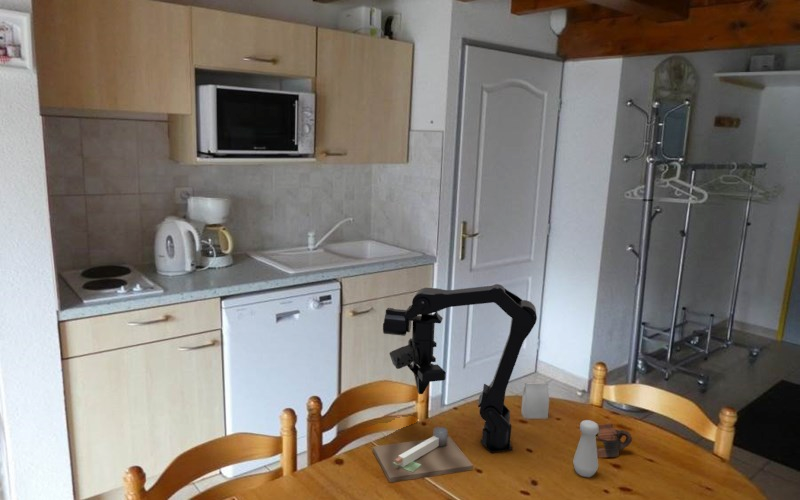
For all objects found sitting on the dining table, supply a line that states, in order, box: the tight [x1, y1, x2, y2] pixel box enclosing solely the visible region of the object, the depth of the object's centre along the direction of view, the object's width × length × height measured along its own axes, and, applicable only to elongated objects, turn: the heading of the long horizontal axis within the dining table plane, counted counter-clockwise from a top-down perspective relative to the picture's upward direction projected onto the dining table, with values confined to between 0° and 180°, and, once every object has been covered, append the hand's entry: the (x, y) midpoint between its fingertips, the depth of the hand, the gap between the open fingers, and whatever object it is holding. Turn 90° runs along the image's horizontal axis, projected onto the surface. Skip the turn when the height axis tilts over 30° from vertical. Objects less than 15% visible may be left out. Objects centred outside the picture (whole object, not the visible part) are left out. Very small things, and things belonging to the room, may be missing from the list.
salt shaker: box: [572, 419, 599, 478], centre depth 140 cm, size 6×6×13 cm
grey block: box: [520, 382, 550, 420], centre depth 169 cm, size 4×7×10 cm, turn 95°
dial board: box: [372, 436, 474, 483], centre depth 144 cm, size 21×14×1 cm
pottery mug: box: [596, 422, 633, 459], centre depth 152 cm, size 12×10×8 cm
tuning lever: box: [395, 426, 448, 467], centre depth 144 cm, size 19×4×4 cm, turn 139°
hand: (420, 393), depth 154 cm, fingers closed
